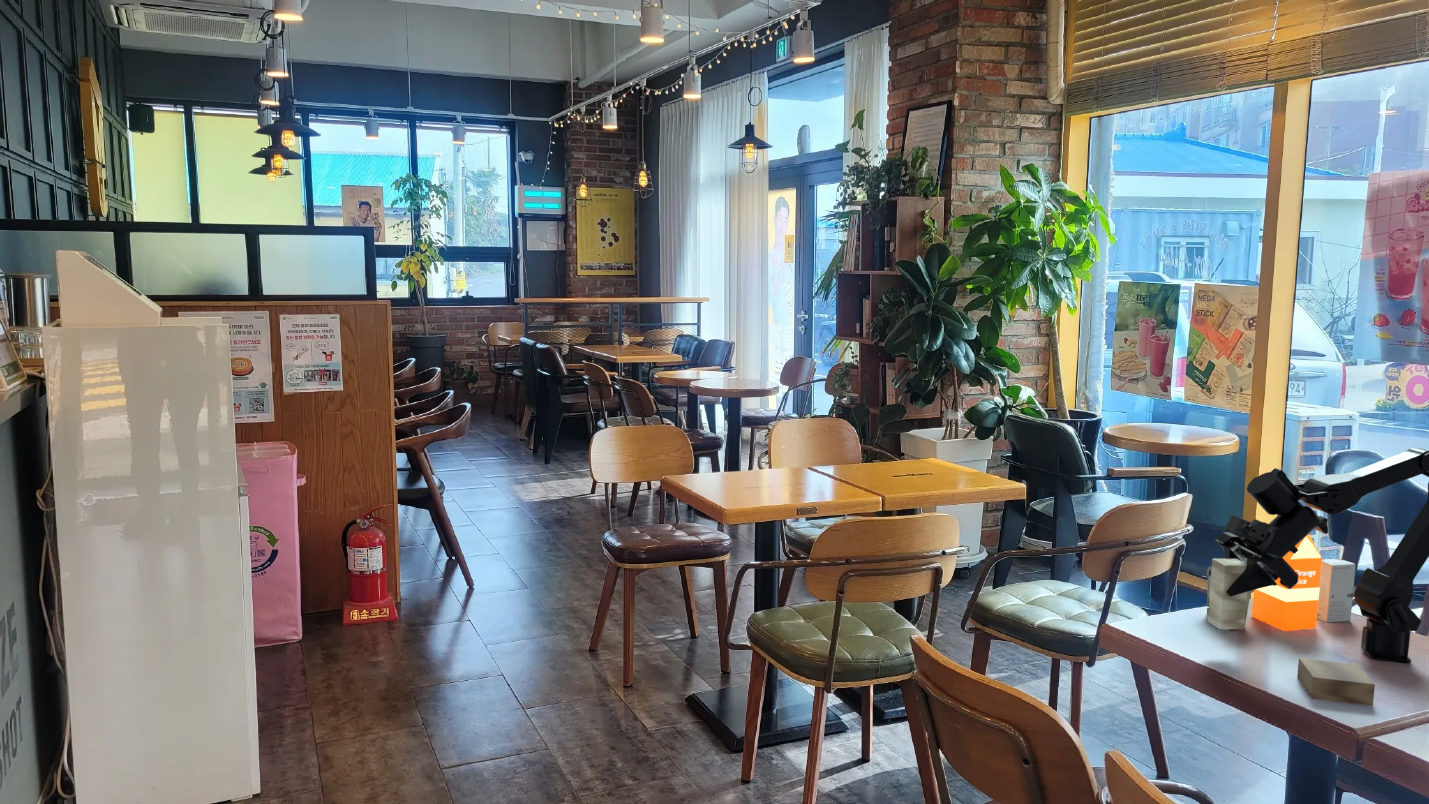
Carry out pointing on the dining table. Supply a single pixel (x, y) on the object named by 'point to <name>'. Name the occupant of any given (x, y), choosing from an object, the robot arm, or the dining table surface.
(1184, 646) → the dining table surface
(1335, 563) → the skincare box
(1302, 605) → the orange juice
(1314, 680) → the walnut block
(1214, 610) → the birch pillar
